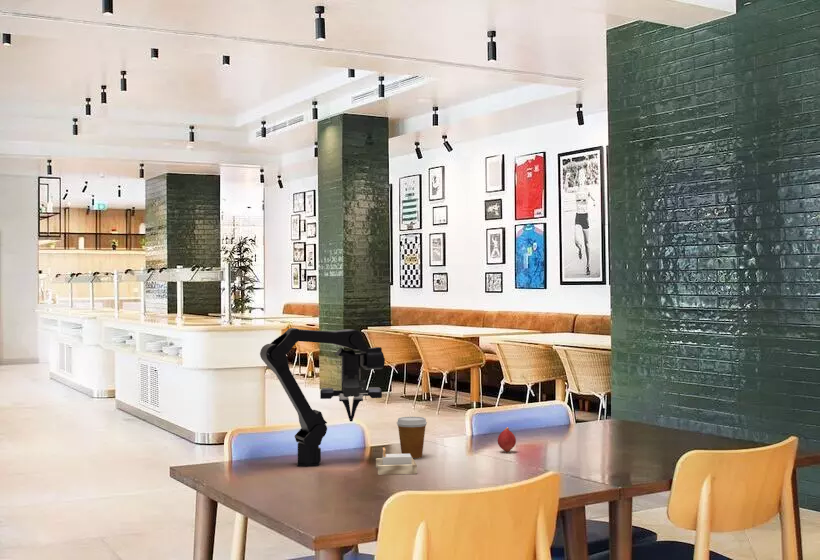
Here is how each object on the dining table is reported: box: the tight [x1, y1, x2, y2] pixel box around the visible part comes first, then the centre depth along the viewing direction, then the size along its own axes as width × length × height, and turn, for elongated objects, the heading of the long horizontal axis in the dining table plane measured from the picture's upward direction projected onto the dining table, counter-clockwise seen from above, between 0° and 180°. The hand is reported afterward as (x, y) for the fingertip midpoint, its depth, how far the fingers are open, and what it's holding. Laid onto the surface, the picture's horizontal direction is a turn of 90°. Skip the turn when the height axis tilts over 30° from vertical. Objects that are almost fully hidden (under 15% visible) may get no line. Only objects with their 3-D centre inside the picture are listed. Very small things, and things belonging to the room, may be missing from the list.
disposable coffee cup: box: [396, 416, 428, 459], centre depth 293 cm, size 10×10×12 cm
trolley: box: [382, 447, 412, 465], centre depth 272 cm, size 8×7×6 cm
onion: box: [497, 426, 517, 453], centre depth 301 cm, size 6×6×8 cm
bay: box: [375, 457, 418, 476], centre depth 272 cm, size 11×12×2 cm
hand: (351, 421), depth 288 cm, fingers closed
